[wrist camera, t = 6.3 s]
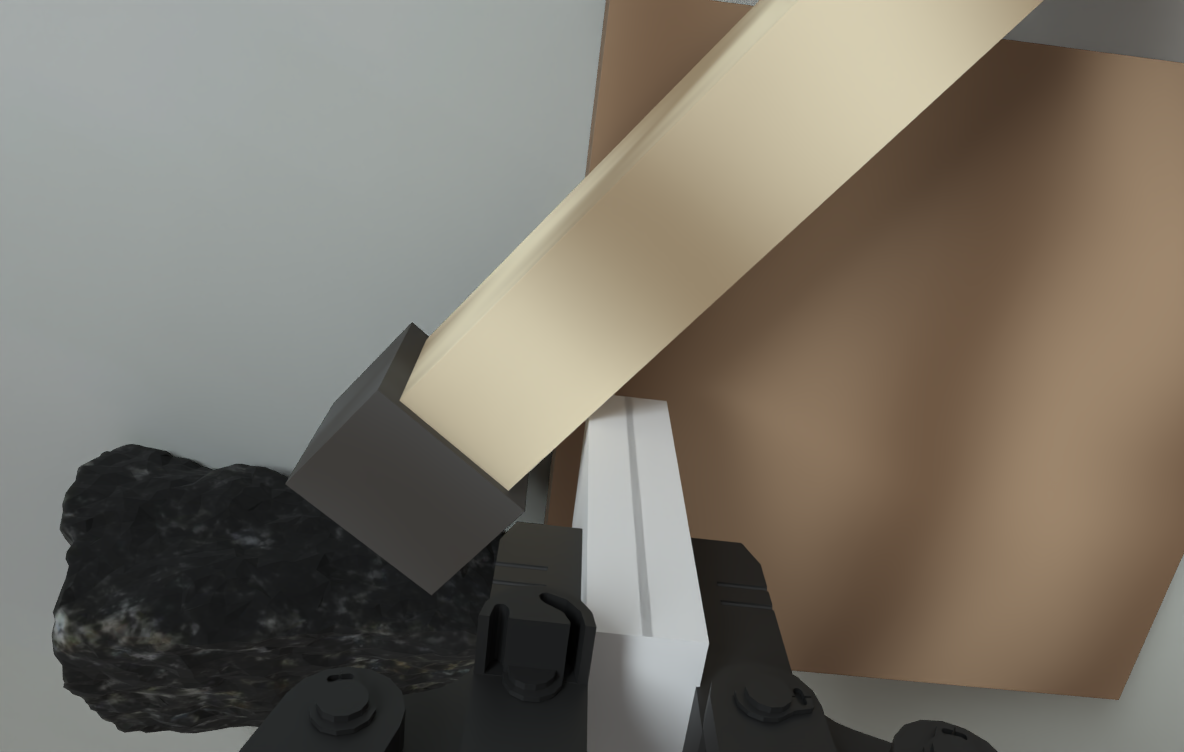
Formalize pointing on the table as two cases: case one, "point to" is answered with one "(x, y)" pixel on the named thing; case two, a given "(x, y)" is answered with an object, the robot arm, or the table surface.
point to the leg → (627, 267)
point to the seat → (943, 373)
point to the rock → (235, 597)
